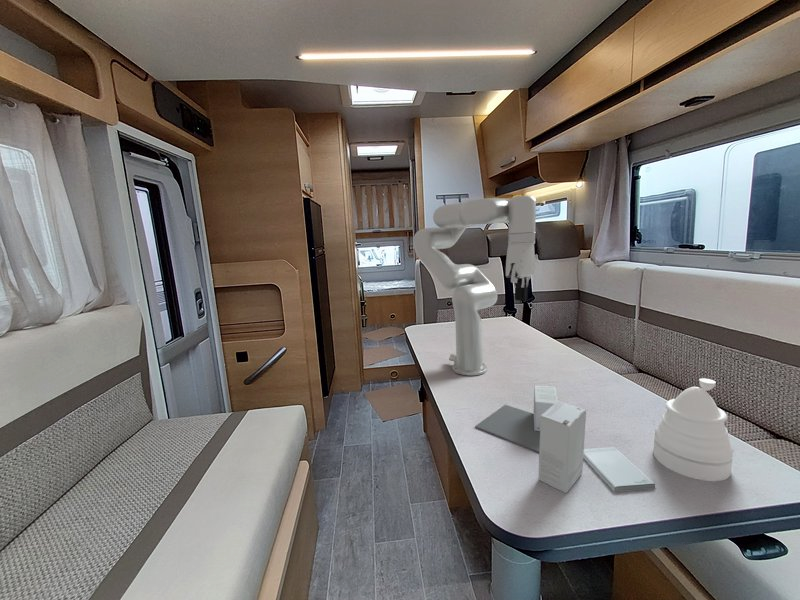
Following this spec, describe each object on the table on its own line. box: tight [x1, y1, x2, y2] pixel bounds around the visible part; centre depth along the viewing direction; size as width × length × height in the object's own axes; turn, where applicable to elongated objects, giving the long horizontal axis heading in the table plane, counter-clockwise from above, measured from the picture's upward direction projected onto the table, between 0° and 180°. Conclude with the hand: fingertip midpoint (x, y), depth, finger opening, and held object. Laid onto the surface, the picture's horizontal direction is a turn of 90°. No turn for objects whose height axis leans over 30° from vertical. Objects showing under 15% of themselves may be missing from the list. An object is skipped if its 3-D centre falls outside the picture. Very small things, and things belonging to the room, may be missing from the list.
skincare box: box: [538, 400, 587, 494], centre depth 72 cm, size 8×6×15 cm
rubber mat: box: [474, 404, 540, 454], centre depth 92 cm, size 20×16×1 cm
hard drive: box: [583, 446, 656, 493], centre depth 75 cm, size 2×8×12 cm
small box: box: [533, 384, 559, 431], centre depth 93 cm, size 8×6×10 cm
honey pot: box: [652, 377, 734, 482], centre depth 75 cm, size 13×13×18 cm
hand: (521, 299), depth 110 cm, fingers closed
